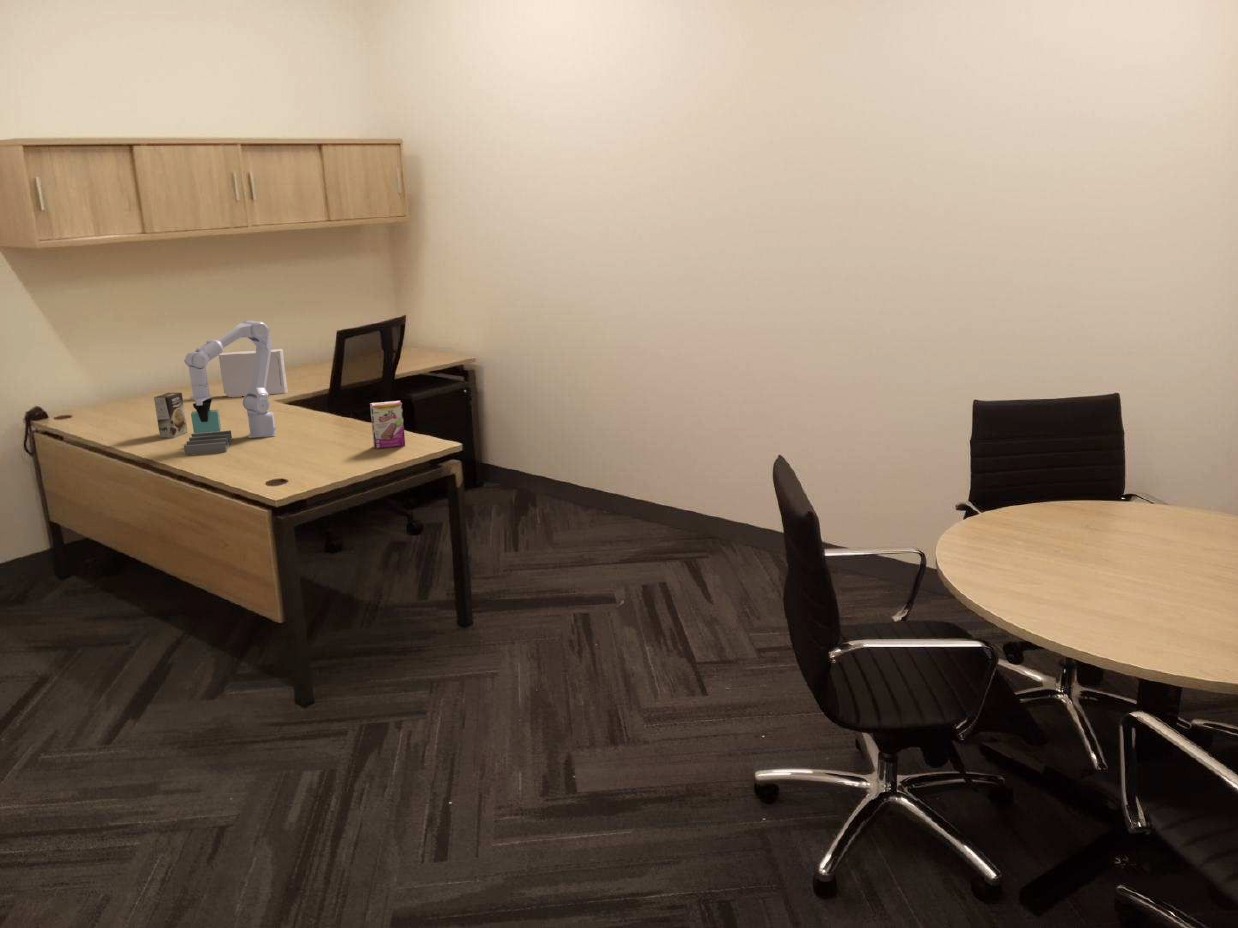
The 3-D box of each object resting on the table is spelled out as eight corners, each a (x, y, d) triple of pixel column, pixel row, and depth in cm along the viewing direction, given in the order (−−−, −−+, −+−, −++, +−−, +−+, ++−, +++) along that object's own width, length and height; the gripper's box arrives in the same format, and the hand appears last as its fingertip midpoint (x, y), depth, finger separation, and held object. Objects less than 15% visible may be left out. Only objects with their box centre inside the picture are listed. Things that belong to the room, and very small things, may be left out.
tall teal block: (221, 429, 360) (218, 409, 358) (219, 431, 357) (217, 411, 355) (195, 431, 358) (192, 411, 356) (193, 433, 355) (190, 413, 353)
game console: (287, 393, 446) (282, 350, 440) (224, 398, 439) (218, 355, 433) (287, 391, 451) (282, 348, 445) (225, 395, 444) (219, 353, 438)
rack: (232, 439, 370) (230, 430, 369) (226, 452, 352) (224, 442, 351) (193, 442, 366) (191, 433, 365) (185, 455, 349) (183, 446, 348)
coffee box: (174, 438, 373) (167, 397, 368) (159, 437, 374) (152, 397, 369) (188, 432, 381) (182, 392, 377) (174, 431, 383) (167, 391, 378)
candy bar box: (375, 449, 351) (370, 405, 346) (373, 446, 356) (369, 403, 351) (406, 446, 355) (402, 402, 350) (404, 443, 359) (400, 400, 355)
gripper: (191, 381, 358) (196, 416, 362) (184, 389, 345) (190, 425, 349) (211, 379, 360) (216, 415, 364) (205, 387, 346) (211, 424, 350)
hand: (205, 420), depth 356 cm, fingers closed on tall teal block, 3 cm apart
